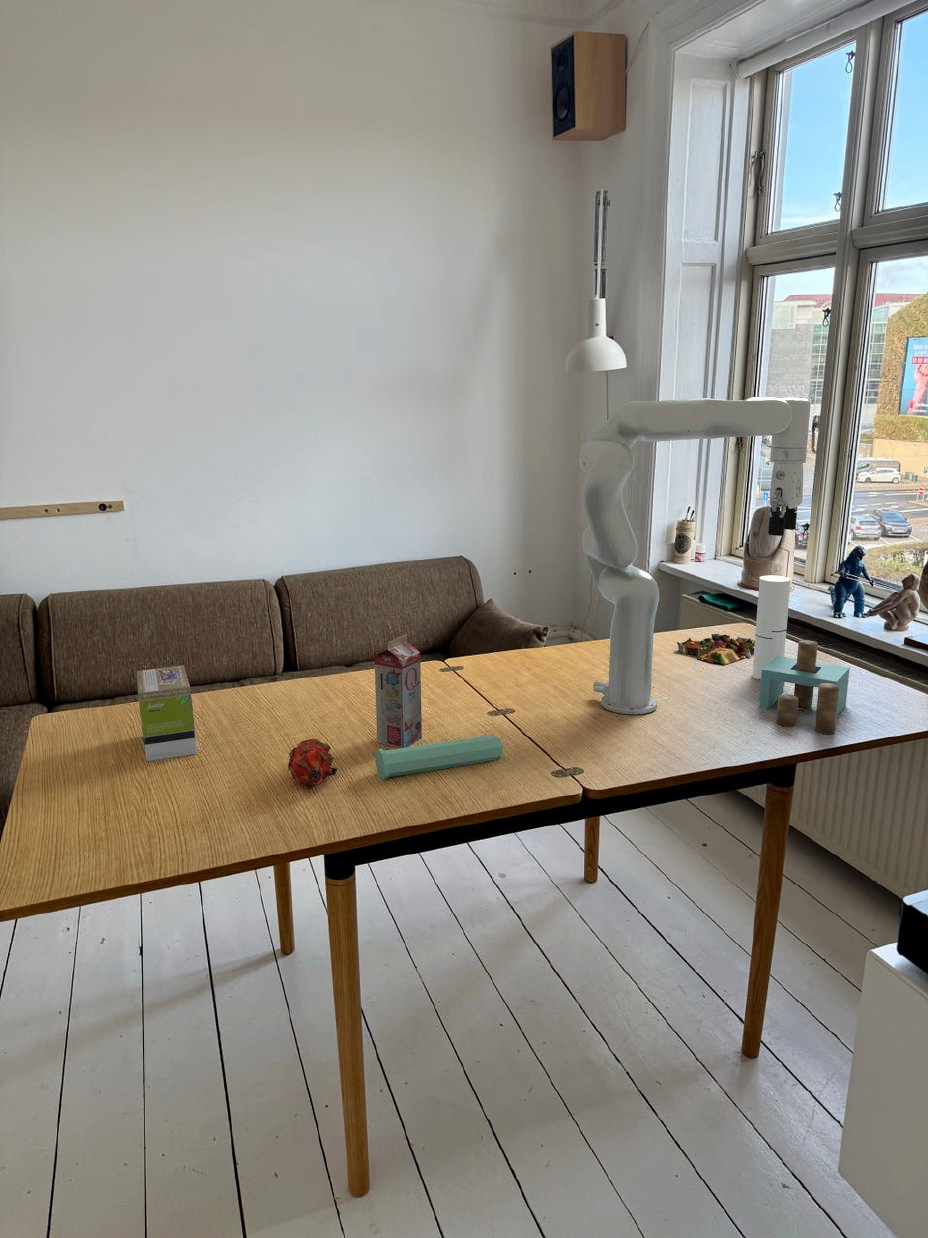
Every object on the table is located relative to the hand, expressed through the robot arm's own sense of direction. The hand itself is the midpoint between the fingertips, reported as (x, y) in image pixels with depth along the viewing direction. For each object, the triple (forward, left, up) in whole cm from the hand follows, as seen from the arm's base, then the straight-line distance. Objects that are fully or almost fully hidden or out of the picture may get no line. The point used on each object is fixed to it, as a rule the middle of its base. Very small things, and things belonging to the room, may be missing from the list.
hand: (782, 532), depth 209 cm
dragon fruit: (-56, -96, -39) cm, 118 cm away
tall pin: (+9, -5, -38) cm, 40 cm away
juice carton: (-55, -71, -38) cm, 98 cm away
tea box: (-93, -99, -39) cm, 141 cm away
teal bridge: (+9, -5, -38) cm, 40 cm away
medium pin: (+17, -18, -38) cm, 46 cm away
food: (-21, +27, -39) cm, 52 cm away
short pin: (+9, -18, -38) cm, 43 cm away
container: (-40, -77, -39) cm, 95 cm away
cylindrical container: (-4, +12, -38) cm, 41 cm away
